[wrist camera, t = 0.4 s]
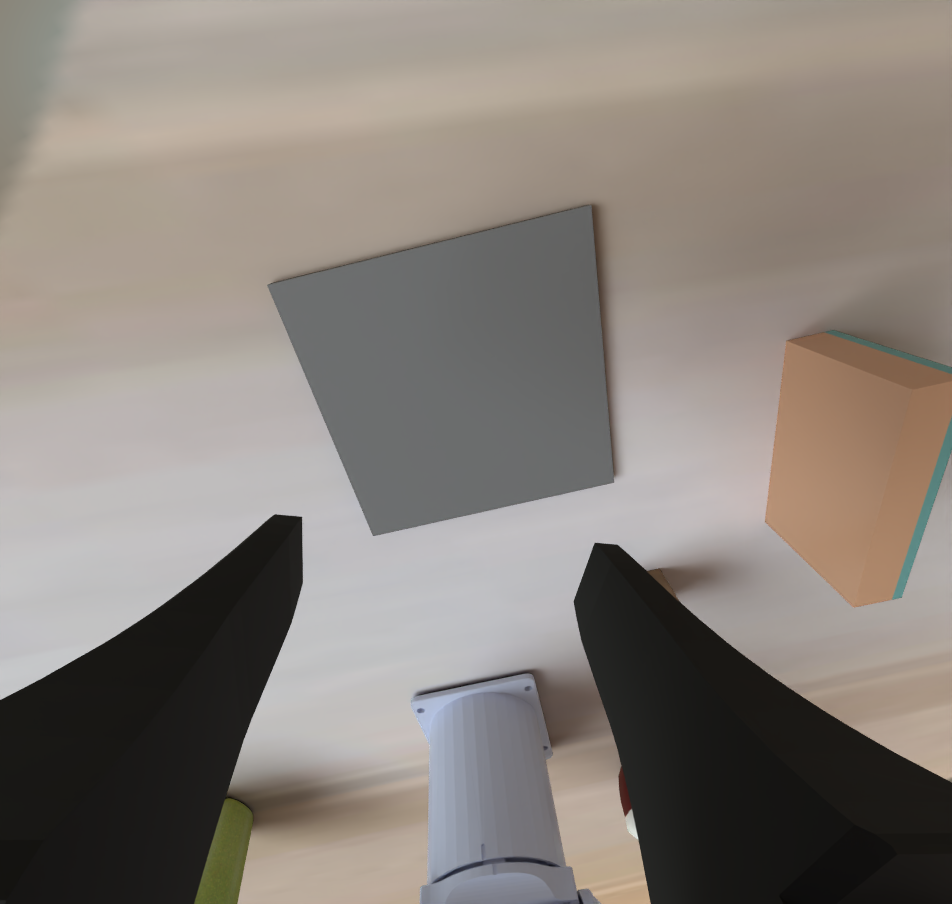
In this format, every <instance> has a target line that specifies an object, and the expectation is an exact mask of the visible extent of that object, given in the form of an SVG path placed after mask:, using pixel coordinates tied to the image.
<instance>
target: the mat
mask: <svg viewBox="0 0 952 904" xmlns="http://www.w3.org/2000/svg"><path fill="white" fill-rule="evenodd" d="M267 286H268V288H269V291H270V293H271V295H272V298H273V300H274V302H275V305H276V307H277V309H278V312H279V314H280V317H281V319H282V321H283V324H284V326H285V328H286V331H287V333H288V336H289V338H290V340H291V343H292V345H293V347H294V350H295V352H296V354H297V357H298V359H299V362H300V364H301V366H302V369H303V371H304V373H305V376H306V378H307V380H308V383H309V385H310V388H311V390H312V392H313V395H314V397H315V399H316V402H317V404H318V407H319V409H320V411H321V414H322V416H323V418H324V421H325V423H326V425H327V428H328V430H329V433H330V435H331V437H332V440H333V442H334V444H335V447H336V449H337V452H338V454H339V456H340V459H341V461H342V463H343V466H344V468H345V470H346V473H347V475H348V478H349V480H350V482H351V485H352V487H353V489H354V492H355V494H356V497H357V499H358V501H359V504H360V506H361V508H362V511H363V513H364V515H365V518H366V520H367V523H368V525H369V527H370V530H371V532H372V534H373V536H376V535H381V534H385V533H390V532H394V531H399V530H403V529H408V528H412V527H417V526H421V525H426V524H430V523H435V522H439V521H444V520H448V519H453V518H457V517H462V516H466V515H471V514H475V513H480V512H484V511H489V510H493V509H498V508H502V507H507V506H511V505H516V504H520V503H525V502H529V501H534V500H538V499H542V498H547V497H551V496H556V495H560V494H565V493H569V492H574V491H578V490H583V489H587V488H592V487H596V486H601V485H605V484H610V483H614V475H613V463H612V451H611V439H610V426H609V414H608V402H607V390H606V378H605V366H604V353H603V341H602V329H601V317H600V305H599V293H598V280H597V268H596V256H595V244H594V232H593V219H592V207H591V205H586V206H582V207H578V208H574V209H570V210H566V211H562V212H558V213H554V214H550V215H546V216H542V217H538V218H534V219H529V220H525V221H521V222H517V223H513V224H509V225H505V226H501V227H497V228H493V229H489V230H485V231H481V232H477V233H473V234H469V235H465V236H461V237H457V238H453V239H449V240H445V241H441V242H436V243H432V244H428V245H424V246H420V247H416V248H412V249H408V250H404V251H400V252H396V253H392V254H388V255H384V256H380V257H376V258H372V259H368V260H364V261H360V262H356V263H352V264H348V265H343V266H339V267H335V268H331V269H327V270H323V271H319V272H315V273H311V274H307V275H303V276H299V277H295V278H291V279H287V280H283V281H279V282H275V283H271V284H269V285H267Z"/></svg>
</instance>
